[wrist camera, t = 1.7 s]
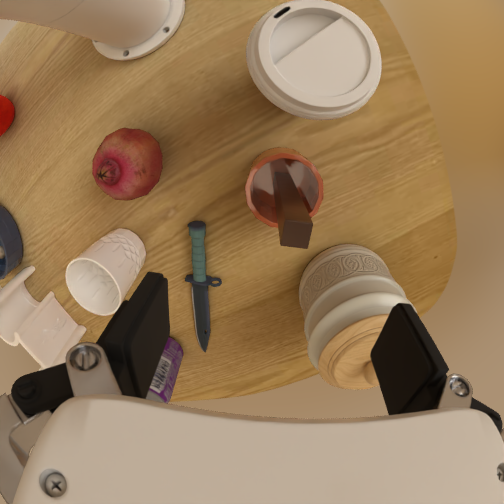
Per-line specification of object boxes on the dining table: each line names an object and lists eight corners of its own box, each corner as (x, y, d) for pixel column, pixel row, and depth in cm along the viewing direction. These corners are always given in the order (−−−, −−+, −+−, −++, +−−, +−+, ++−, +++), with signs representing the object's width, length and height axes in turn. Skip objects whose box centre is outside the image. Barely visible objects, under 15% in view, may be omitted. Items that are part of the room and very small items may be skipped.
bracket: (14, 279, 42) (-20, 313, 31) (31, 259, 39) (-10, 296, 28) (90, 366, 51) (69, 408, 40) (115, 358, 48) (92, 404, 38)
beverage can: (139, 331, 44) (114, 384, 34) (176, 330, 44) (157, 388, 33) (153, 359, 47) (135, 411, 37) (189, 359, 47) (174, 415, 36)
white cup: (117, 278, 40) (87, 319, 31) (93, 233, 36) (55, 267, 27) (159, 266, 38) (132, 310, 29) (135, 216, 35) (99, 250, 26)
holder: (252, 143, 31) (249, 148, 25) (318, 153, 31) (330, 160, 25) (244, 205, 34) (240, 223, 29) (307, 214, 34) (315, 233, 29)
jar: (279, 296, 40) (285, 402, 24) (336, 223, 35) (386, 311, 19) (346, 329, 42) (372, 423, 27) (401, 269, 37) (458, 355, 21)
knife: (178, 226, 33) (219, 230, 33) (184, 219, 35) (223, 223, 35) (192, 355, 45) (221, 360, 44) (196, 346, 47) (224, 351, 46)
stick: (274, 171, 32) (285, 219, 17) (290, 173, 32) (313, 223, 17) (272, 186, 32) (280, 245, 18) (287, 188, 32) (307, 249, 18)
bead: (-1, 243, 37) (-8, 248, 35) (6, 244, 37) (-2, 250, 35) (2, 254, 38) (-5, 259, 36) (9, 255, 38) (1, 261, 36)
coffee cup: (319, 34, 24) (358, -18, 11) (348, 107, 28) (410, 103, 15) (240, 57, 26) (221, 11, 13) (270, 130, 30) (277, 139, 16)
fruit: (149, 201, 34) (114, 232, 25) (104, 165, 32) (59, 185, 23) (186, 151, 31) (156, 166, 22) (137, 113, 29) (93, 116, 20)
